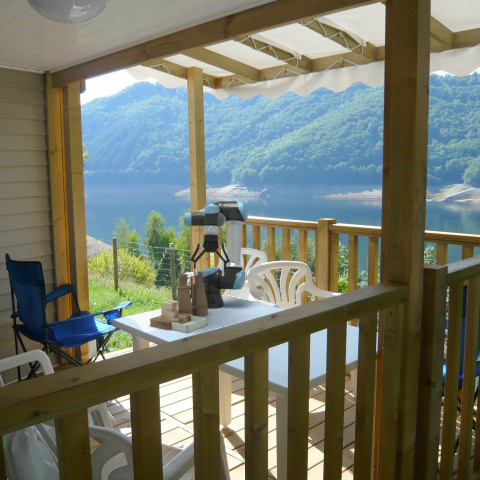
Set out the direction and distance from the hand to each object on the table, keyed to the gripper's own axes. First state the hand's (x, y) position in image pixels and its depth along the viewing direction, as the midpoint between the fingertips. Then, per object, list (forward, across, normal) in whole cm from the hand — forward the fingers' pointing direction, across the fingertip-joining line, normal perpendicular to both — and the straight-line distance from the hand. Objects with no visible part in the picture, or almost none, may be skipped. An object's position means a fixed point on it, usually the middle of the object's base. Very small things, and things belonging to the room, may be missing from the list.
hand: (209, 275), depth 259 cm
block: (+22, -21, +12) cm, 33 cm away
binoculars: (+23, -11, +28) cm, 38 cm away
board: (+26, -20, +13) cm, 35 cm away
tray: (+27, -10, +6) cm, 29 cm away
